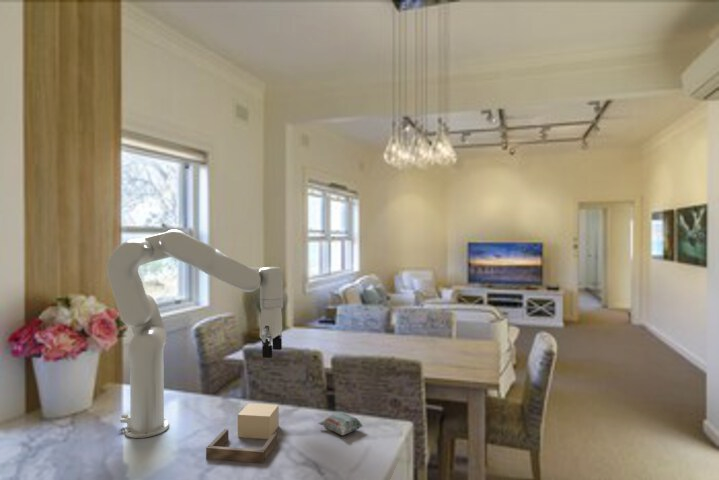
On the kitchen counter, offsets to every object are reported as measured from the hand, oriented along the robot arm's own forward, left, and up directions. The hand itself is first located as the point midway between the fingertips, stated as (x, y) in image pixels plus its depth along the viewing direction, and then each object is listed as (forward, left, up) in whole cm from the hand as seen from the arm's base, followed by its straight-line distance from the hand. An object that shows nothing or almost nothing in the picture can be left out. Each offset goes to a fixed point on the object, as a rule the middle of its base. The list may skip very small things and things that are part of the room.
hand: (272, 353), depth 150 cm
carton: (0, -13, -21) cm, 25 cm away
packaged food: (+25, -9, -21) cm, 34 cm away
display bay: (0, -25, -21) cm, 32 cm away
